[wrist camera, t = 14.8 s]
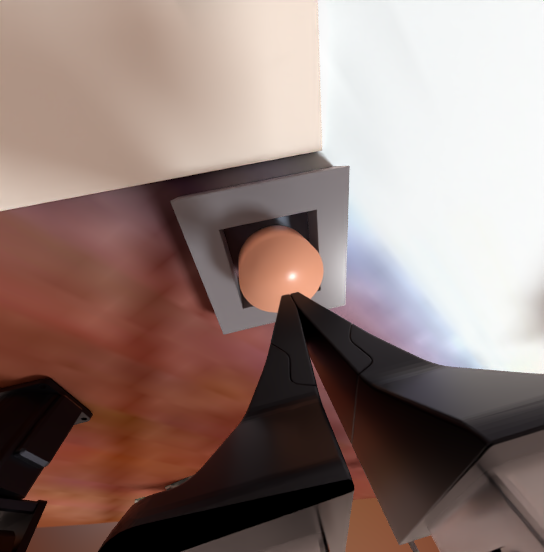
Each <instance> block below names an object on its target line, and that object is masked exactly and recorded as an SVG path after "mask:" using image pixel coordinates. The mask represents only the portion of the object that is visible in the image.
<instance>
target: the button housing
mask: <svg viewBox="0 0 544 552" xmlns="http://www.w3.org/2000/svg"><path fill="white" fill-rule="evenodd" d="M348 197H349V166H333V167H328V168H323V169H318V170H313V171H308V172H303V173H297V174H292V175H287V176H282V177H277V178H272V179H267V180H262V181H256V182H251V183H246V184H241V185H236V186H231V187H226V188H220V189H215V190H210V191H205V192H200V193H195V194H190V195H184V196H179V197H177V198H175V199H173V200H171V201H170V202H171V205H172V207H173V210H174V212H175V215H176V217H177V220H178V222H179V225H180V227H181V229H182V232H183V234H184V237H185V239H186V242H187V244H188V247H189V249H190V252H191V254H192V257H193V259H194V262H195V264H196V267H197V269H198V272H199V274H200V277H201V279H202V282H203V284H204V287H205V289H206V292H207V294H208V297H209V299H210V302H211V304H212V307H213V309H214V312H215V314H216V317H217V319H218V322H219V324H220V326H221V329H222V331H223V334H228V333H232V332H236V331H240V330H244V329H249V328H253V327H257V326H261V325H265V324H269V323H273V322H276V317H277V313H275V312H267V311H263V310H260V309H258V308H256V307H254V306H253V305H252V304H250V303H249V302H248V301H247V300H246V298H245V297H244V295H243V294H242V292H241V289H240V285H239V282H238V278H237V275H236V272H235V268H234V265H233V261H232V258H231V255H230V251H229V248H228V244H227V241H226V238H225V234H224V231H223V229H225V228H230V227H235V226H240V225H245V224H249V223H254V222H259V221H264V220H269V219H274V218H278V217H283V216H288V215H293V214H298V213H302V212H307V218H308V232H309V243H310V244H311V245H312V246H313V247H314V248H315V249H316V250H317V252H318V253H319V255H320V257H321V259H322V262H323V269H324V270H323V279H322V282H321V284H320V287H319V289H318V290H317V292H316V293H315V294H314V296H313V297H312V298H311V300H313V301H315V302H316V303H318V304H320V305H322V306H323V307H325V308H327V309H331V308H335V307H339V306H344V305H345V297H346V264H347V230H348Z"/></svg>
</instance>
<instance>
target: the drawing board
mask: <svg viewBox="0 0 544 552" xmlns="http://www.w3.org/2000/svg"><path fill="white" fill-rule="evenodd" d="M321 150H322V130H321V97H320V63H319V30H318V0H0V211H4V210H9V209H15V208H20V207H25V206H31V205H36V204H41V203H46V202H52V201H57V200H62V199H68V198H73V197H78V196H84V195H89V194H94V193H99V192H105V191H110V190H115V189H121V188H126V187H131V186H137V185H142V184H147V183H152V182H158V181H163V180H168V179H174V178H179V177H184V176H190V175H195V174H200V173H205V172H211V171H216V170H221V169H227V168H232V167H237V166H243V165H248V164H253V163H258V162H264V161H269V160H274V159H280V158H285V157H290V156H296V155H301V154H306V153H311V152H317V151H321Z"/></svg>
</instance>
